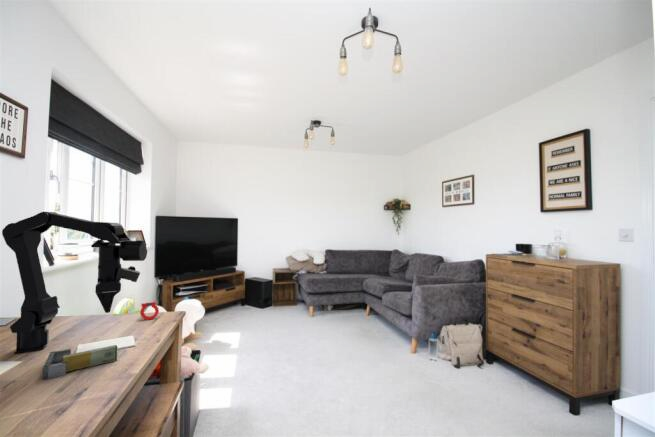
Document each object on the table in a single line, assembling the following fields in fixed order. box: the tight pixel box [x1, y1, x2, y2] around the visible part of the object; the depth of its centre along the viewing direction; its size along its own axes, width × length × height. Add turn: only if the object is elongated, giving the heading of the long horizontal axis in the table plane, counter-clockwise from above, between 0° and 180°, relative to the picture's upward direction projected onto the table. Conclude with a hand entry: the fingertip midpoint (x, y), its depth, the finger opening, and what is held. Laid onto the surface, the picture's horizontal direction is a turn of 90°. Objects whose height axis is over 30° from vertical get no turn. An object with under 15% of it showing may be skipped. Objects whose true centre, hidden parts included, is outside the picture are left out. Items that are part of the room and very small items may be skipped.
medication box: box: [61, 345, 118, 373], centre depth 82 cm, size 12×3×4 cm, turn 134°
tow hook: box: [139, 301, 160, 321], centre depth 126 cm, size 7×10×7 cm
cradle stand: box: [41, 348, 72, 381], centre depth 80 cm, size 4×11×3 cm, turn 36°
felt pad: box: [75, 335, 136, 353], centre depth 95 cm, size 15×10×1 cm, turn 126°
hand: (107, 309), depth 96 cm, fingers open, 9 cm apart
